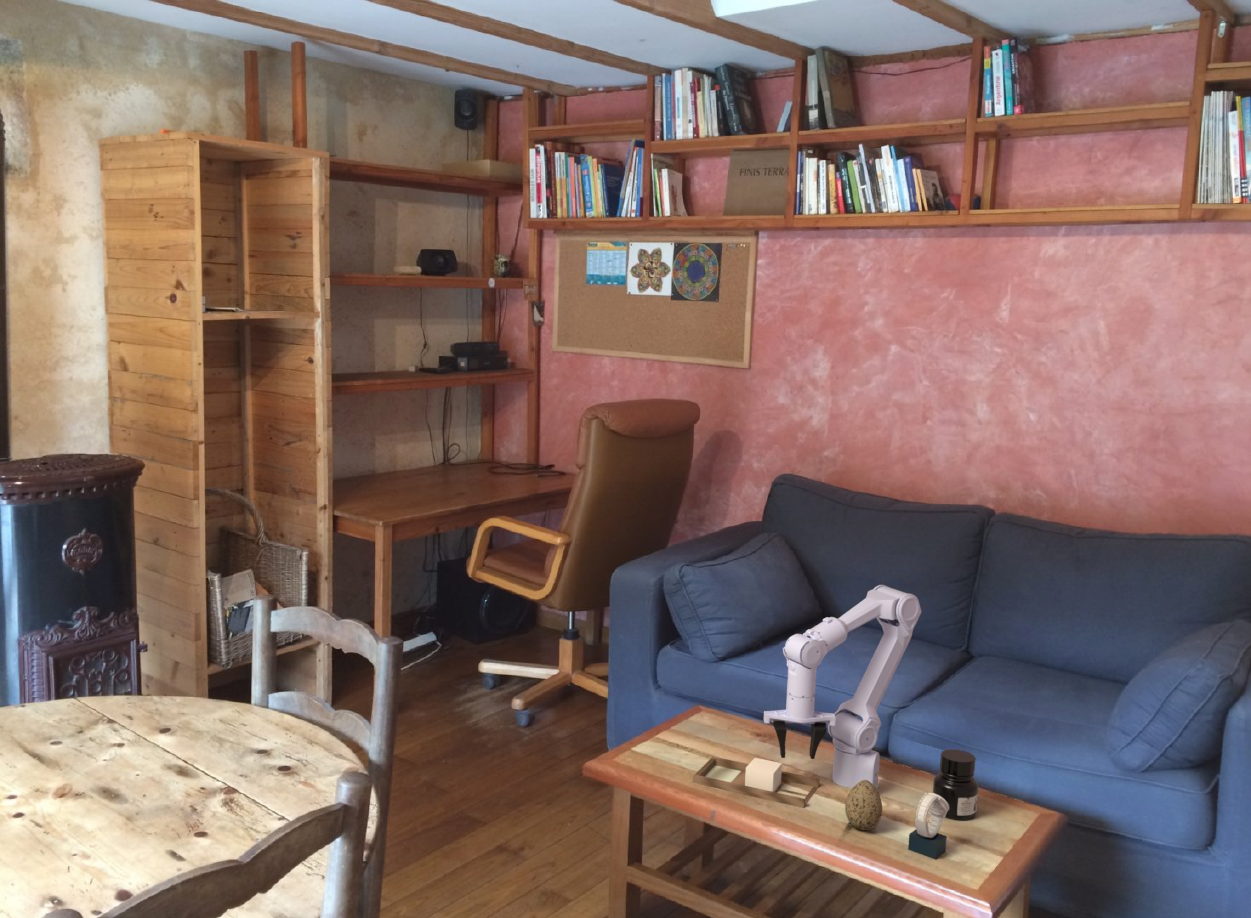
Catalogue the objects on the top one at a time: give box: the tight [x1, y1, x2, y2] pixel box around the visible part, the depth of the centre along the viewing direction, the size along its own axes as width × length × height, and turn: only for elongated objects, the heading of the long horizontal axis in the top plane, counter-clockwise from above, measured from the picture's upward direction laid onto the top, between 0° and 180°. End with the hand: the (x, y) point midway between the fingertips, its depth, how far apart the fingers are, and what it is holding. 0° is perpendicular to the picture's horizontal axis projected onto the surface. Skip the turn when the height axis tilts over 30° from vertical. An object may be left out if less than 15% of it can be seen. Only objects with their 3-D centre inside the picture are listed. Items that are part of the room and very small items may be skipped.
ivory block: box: [745, 757, 783, 792], centre depth 231 cm, size 6×6×4 cm
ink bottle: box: [932, 748, 979, 821], centre depth 225 cm, size 10×9×12 cm
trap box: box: [692, 756, 821, 809], centre depth 232 cm, size 24×12×3 cm, turn 65°
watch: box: [907, 792, 949, 860], centre depth 208 cm, size 6×8×11 cm
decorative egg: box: [844, 780, 883, 831], centre depth 217 cm, size 7×7×10 cm
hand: (797, 756), depth 228 cm, fingers open, 5 cm apart
